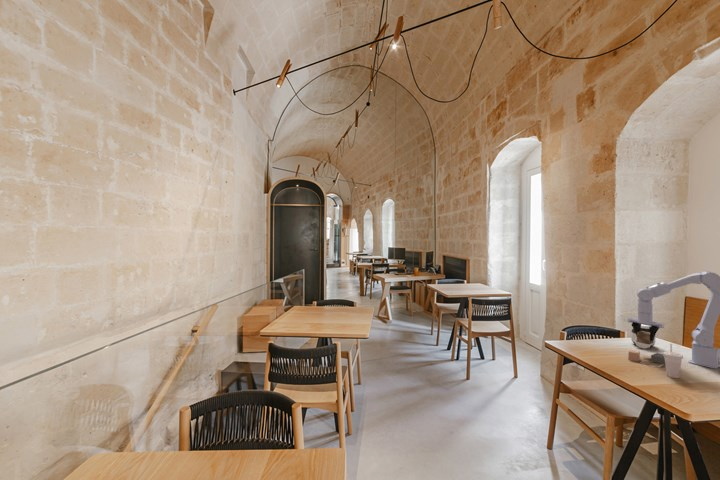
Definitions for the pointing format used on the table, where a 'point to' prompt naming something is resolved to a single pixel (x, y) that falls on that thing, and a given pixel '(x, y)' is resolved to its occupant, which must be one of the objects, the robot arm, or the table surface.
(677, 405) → the table surface
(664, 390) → the table surface
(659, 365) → the swatch
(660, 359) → the plinth
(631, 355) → the terracotta cube
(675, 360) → the smoothie
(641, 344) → the spread jar
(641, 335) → the walnut cube
